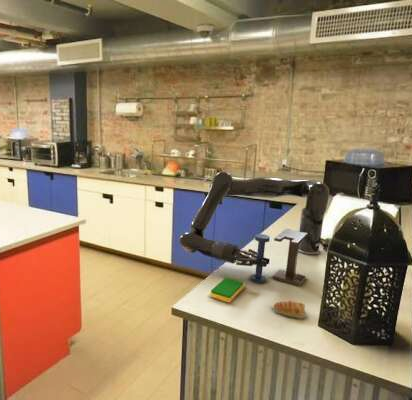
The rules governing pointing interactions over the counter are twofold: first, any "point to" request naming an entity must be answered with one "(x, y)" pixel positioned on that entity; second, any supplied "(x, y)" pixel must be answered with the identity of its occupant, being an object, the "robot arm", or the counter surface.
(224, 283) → the dish sponge
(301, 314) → the pastry
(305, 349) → the counter surface
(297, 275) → the stand
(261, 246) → the peg
